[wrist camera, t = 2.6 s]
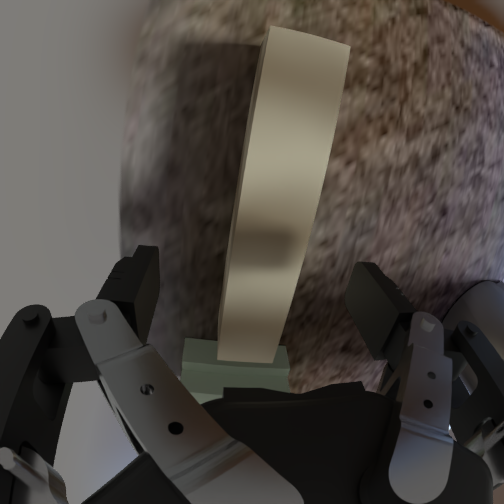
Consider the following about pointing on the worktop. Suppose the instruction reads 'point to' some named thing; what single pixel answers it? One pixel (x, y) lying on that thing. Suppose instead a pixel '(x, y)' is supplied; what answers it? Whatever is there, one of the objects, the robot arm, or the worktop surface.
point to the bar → (278, 187)
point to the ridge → (228, 371)
